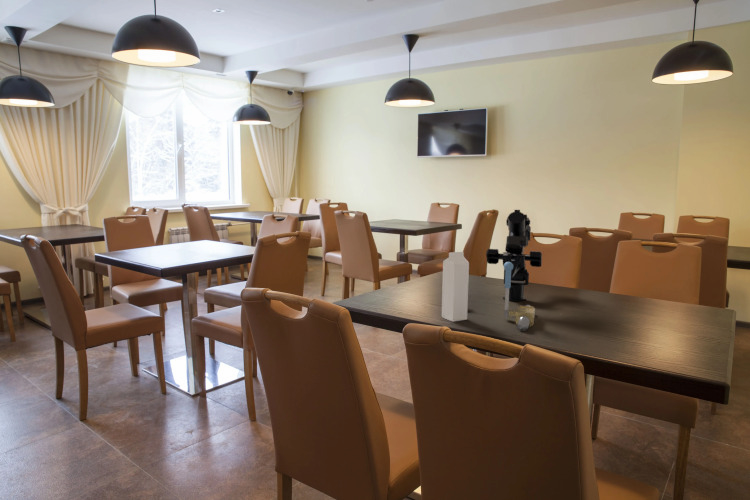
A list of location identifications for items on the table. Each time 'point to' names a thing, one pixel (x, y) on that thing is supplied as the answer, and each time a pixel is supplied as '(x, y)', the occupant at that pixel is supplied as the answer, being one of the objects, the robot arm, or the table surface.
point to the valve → (524, 316)
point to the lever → (507, 285)
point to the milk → (455, 287)
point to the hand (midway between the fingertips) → (511, 277)
